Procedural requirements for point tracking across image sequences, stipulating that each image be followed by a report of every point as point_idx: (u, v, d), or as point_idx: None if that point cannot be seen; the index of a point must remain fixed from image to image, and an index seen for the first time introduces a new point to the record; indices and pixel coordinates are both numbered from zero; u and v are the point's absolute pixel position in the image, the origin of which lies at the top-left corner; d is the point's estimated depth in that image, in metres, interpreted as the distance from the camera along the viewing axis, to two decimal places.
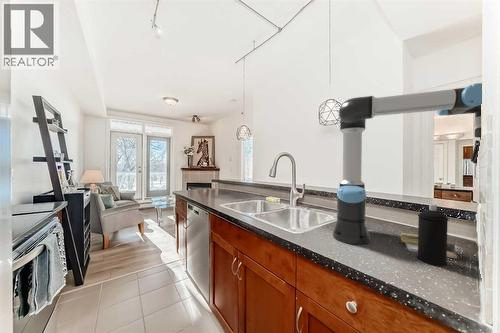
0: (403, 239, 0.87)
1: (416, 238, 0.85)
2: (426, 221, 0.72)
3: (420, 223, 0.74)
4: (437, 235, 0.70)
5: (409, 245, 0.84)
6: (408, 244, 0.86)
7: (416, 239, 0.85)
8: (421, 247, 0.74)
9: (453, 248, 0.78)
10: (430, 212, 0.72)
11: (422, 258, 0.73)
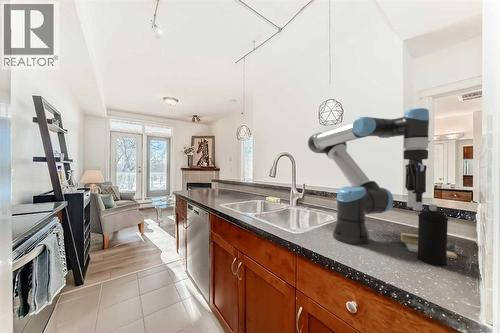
0: (403, 239, 0.87)
1: (416, 238, 0.85)
2: (426, 221, 0.72)
3: (420, 223, 0.74)
4: (437, 235, 0.70)
5: (409, 245, 0.84)
6: (408, 244, 0.86)
7: (416, 239, 0.85)
8: (421, 247, 0.74)
9: (453, 248, 0.78)
10: (430, 212, 0.72)
11: (422, 258, 0.73)
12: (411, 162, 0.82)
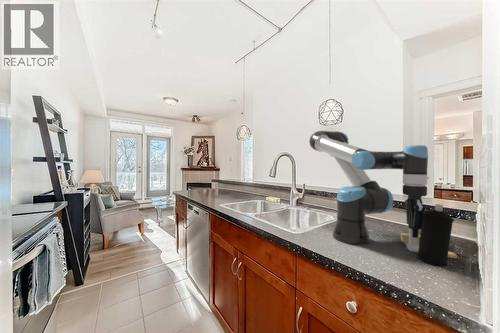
0: (403, 239, 0.87)
1: None
2: (431, 221, 0.70)
3: (424, 223, 0.73)
4: (440, 236, 0.69)
5: (409, 245, 0.84)
6: (408, 244, 0.86)
7: None
8: (422, 247, 0.73)
9: (453, 248, 0.78)
10: (435, 212, 0.71)
11: (422, 257, 0.73)
12: (410, 197, 0.82)
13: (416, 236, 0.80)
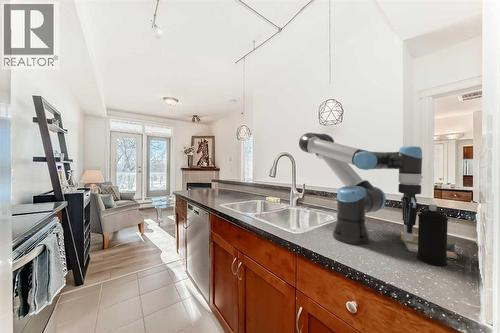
0: (402, 238, 0.89)
1: (415, 237, 0.86)
2: (426, 221, 0.72)
3: (420, 223, 0.74)
4: (437, 235, 0.70)
5: (409, 245, 0.84)
6: (408, 244, 0.86)
7: (415, 238, 0.86)
8: (421, 247, 0.74)
9: (453, 248, 0.78)
10: (430, 212, 0.72)
11: (422, 258, 0.73)
12: (405, 195, 0.87)
13: (410, 232, 0.85)
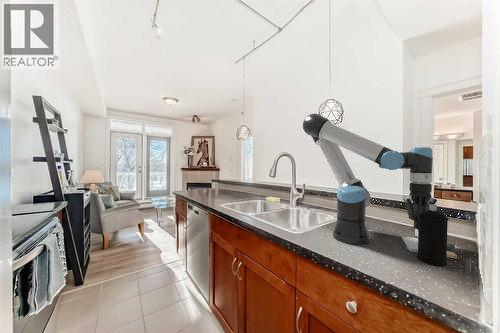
0: None
1: None
2: (426, 221, 0.72)
3: (420, 223, 0.74)
4: (437, 235, 0.70)
5: (409, 245, 0.84)
6: (408, 244, 0.86)
7: None
8: (421, 247, 0.74)
9: (453, 248, 0.78)
10: (430, 212, 0.72)
11: (422, 258, 0.73)
12: None
13: (415, 227, 0.91)
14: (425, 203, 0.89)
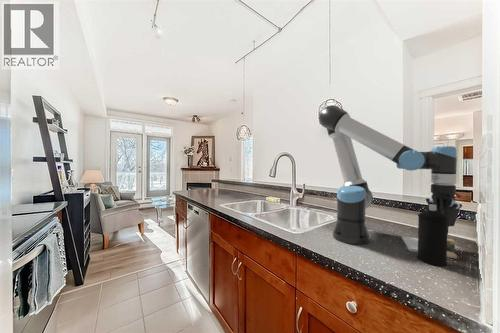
0: None
1: None
2: (426, 221, 0.72)
3: (420, 223, 0.74)
4: (436, 235, 0.70)
5: (409, 245, 0.84)
6: (408, 244, 0.86)
7: None
8: (421, 247, 0.74)
9: (453, 248, 0.78)
10: (430, 212, 0.72)
11: (422, 258, 0.73)
12: None
13: None
14: (441, 206, 0.84)
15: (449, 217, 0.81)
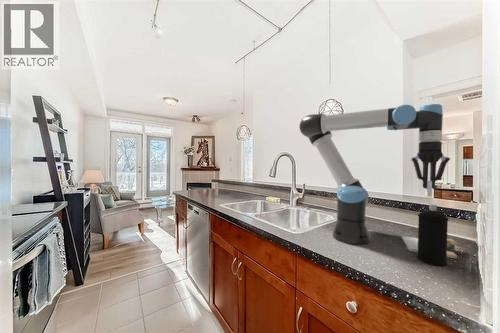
0: None
1: None
2: (426, 221, 0.72)
3: (420, 223, 0.74)
4: (437, 235, 0.70)
5: (409, 245, 0.84)
6: (408, 244, 0.86)
7: None
8: (421, 247, 0.74)
9: (453, 248, 0.78)
10: (430, 212, 0.72)
11: (422, 258, 0.73)
12: None
13: (423, 186, 0.90)
14: (433, 161, 0.88)
15: (442, 171, 0.87)
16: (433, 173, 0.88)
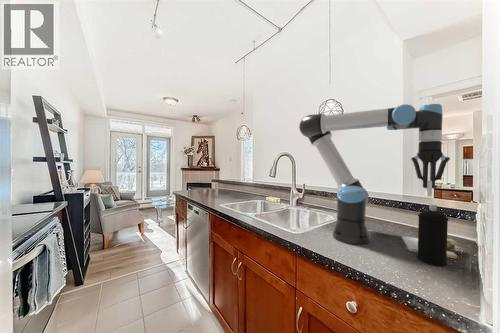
0: None
1: None
2: (426, 221, 0.72)
3: (420, 223, 0.74)
4: (437, 235, 0.70)
5: (409, 245, 0.84)
6: (408, 244, 0.86)
7: None
8: (421, 247, 0.74)
9: (453, 248, 0.78)
10: (430, 212, 0.72)
11: (422, 258, 0.73)
12: None
13: (423, 186, 0.90)
14: (433, 161, 0.88)
15: (442, 170, 0.87)
16: (432, 173, 0.88)
